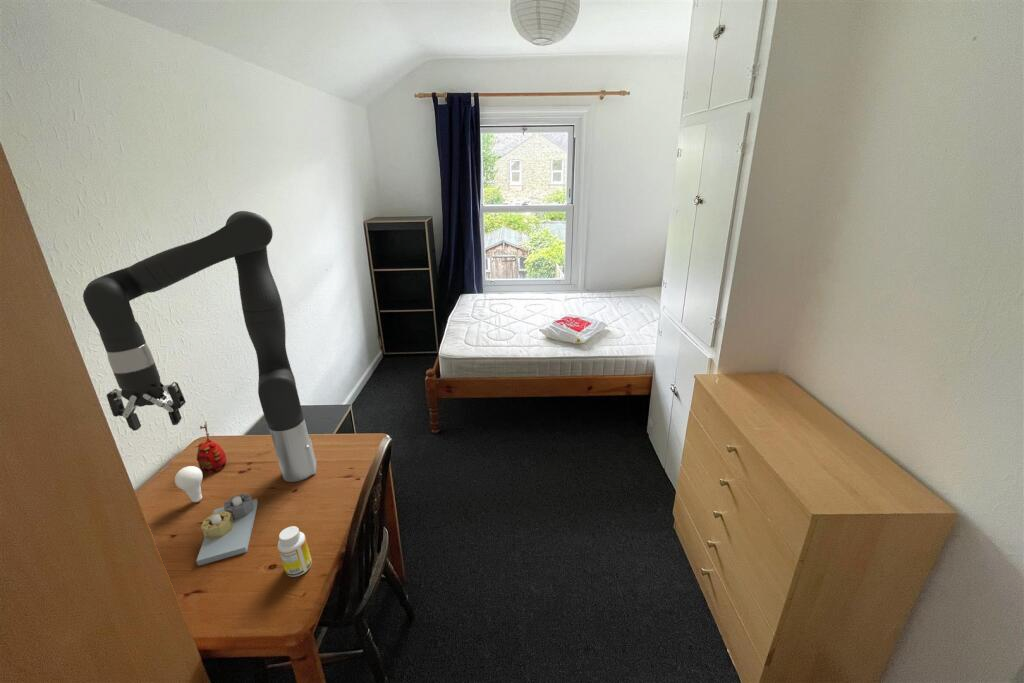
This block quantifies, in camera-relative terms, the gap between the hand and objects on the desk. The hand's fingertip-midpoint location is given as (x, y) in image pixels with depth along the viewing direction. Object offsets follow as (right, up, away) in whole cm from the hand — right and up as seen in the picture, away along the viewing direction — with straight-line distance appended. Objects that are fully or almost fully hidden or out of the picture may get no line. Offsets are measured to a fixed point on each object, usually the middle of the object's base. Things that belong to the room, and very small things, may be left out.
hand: (157, 426), depth 107 cm
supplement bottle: (+38, -31, -7) cm, 49 cm away
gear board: (+15, -27, +4) cm, 32 cm away
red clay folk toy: (-6, -19, +30) cm, 36 cm away
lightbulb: (-1, -24, +16) cm, 29 cm away
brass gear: (+13, -26, +3) cm, 30 cm away
